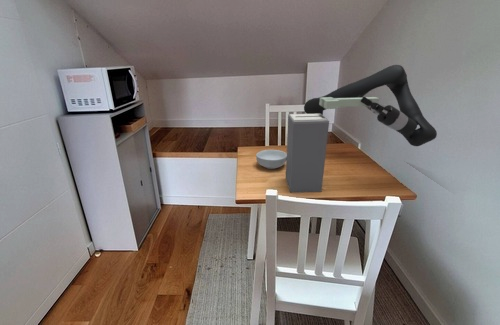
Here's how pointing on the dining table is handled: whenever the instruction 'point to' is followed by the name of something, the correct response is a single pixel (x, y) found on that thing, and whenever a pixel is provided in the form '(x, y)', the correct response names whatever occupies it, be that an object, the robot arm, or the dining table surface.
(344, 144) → the dining table surface
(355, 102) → the sage t bar
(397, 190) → the dining table surface
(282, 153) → the cereal bowl
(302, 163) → the tall grey slotted pedestal
